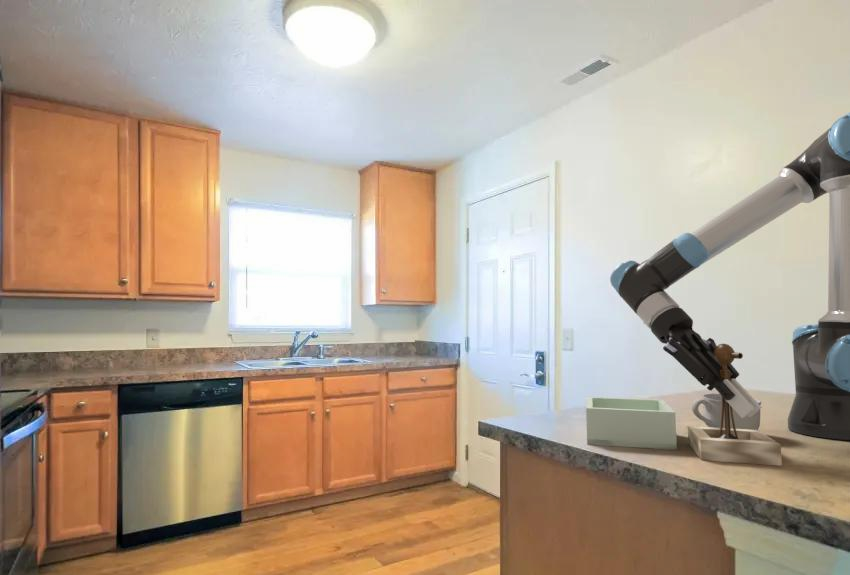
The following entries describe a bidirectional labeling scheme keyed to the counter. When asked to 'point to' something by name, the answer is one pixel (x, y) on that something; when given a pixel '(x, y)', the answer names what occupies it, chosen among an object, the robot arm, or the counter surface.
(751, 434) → the shallow wooden tray
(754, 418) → the teacup
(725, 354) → the wooden tabletop sculpture
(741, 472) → the counter surface
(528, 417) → the counter surface
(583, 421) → the counter surface
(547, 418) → the counter surface
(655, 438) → the bin
